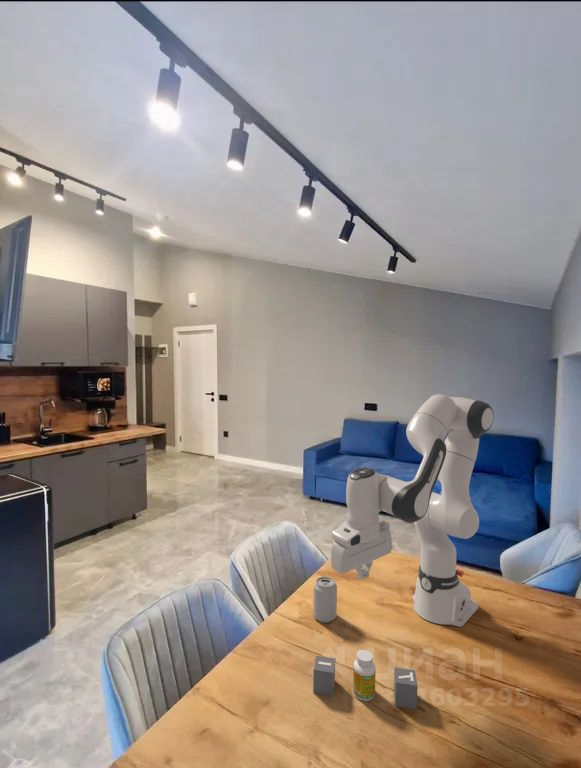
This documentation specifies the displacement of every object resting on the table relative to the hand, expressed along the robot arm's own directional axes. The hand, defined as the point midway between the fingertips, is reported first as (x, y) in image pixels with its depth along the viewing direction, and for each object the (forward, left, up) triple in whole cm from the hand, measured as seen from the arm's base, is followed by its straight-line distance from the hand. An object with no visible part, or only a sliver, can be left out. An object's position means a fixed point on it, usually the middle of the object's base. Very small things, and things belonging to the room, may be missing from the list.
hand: (363, 577), depth 112 cm
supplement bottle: (+8, +9, -23) cm, 26 cm away
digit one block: (+15, +2, -23) cm, 28 cm away
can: (-3, -20, -23) cm, 31 cm away
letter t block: (+1, +16, -23) cm, 28 cm away
